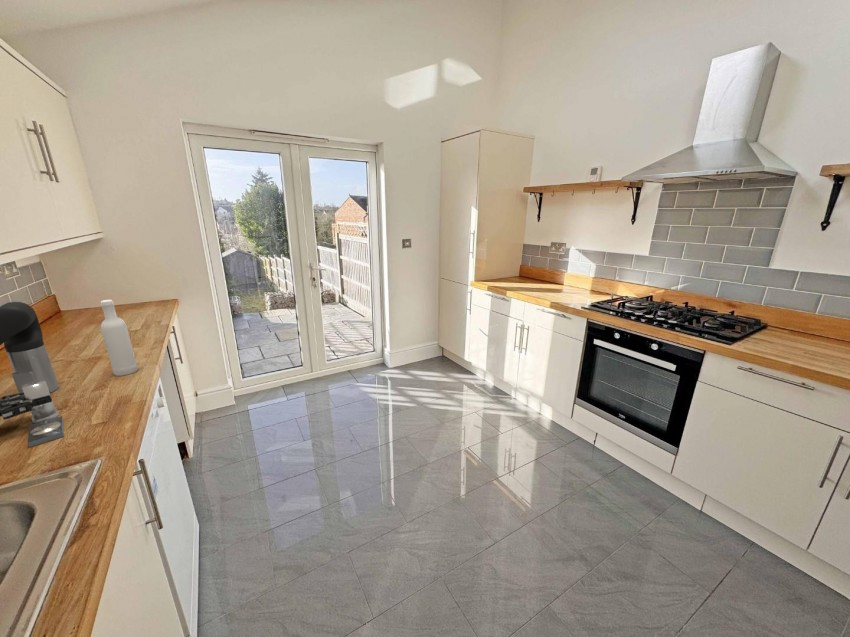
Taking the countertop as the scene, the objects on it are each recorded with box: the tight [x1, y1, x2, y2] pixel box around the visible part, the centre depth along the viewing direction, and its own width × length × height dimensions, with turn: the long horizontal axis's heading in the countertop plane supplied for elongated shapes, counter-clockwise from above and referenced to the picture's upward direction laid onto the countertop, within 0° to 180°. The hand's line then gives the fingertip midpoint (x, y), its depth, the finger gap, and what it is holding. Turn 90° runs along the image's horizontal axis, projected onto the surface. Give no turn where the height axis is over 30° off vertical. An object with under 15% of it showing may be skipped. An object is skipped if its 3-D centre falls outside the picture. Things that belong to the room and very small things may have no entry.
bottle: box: [100, 299, 139, 377], centre depth 143 cm, size 8×8×30 cm
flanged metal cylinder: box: [22, 380, 60, 424], centre depth 114 cm, size 6×6×12 cm
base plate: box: [27, 415, 65, 448], centre depth 107 cm, size 12×7×2 cm, turn 44°
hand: (50, 395), depth 115 cm, fingers closed on flanged metal cylinder, 5 cm apart
